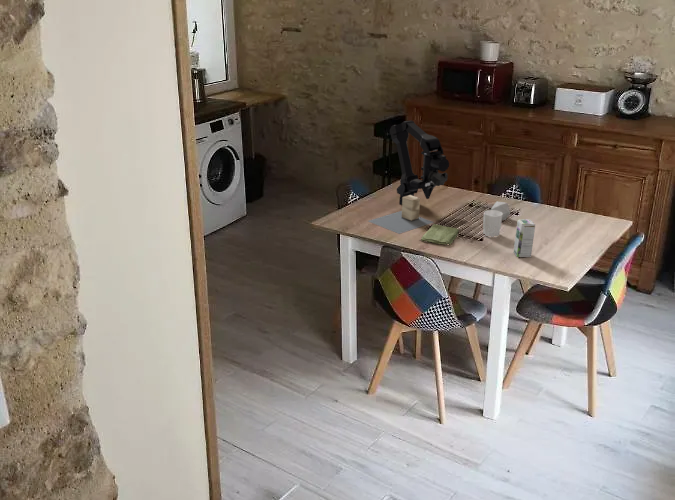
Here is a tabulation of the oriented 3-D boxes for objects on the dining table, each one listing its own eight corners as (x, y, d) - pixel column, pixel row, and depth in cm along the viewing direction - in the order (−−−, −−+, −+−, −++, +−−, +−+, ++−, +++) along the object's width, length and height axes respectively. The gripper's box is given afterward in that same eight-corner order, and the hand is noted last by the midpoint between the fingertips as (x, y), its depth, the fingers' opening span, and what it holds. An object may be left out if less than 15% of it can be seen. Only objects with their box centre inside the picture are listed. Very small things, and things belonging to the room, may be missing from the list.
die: (511, 218, 324) (503, 199, 325) (514, 215, 315) (506, 196, 316) (494, 225, 324) (486, 206, 325) (497, 222, 315) (489, 202, 317)
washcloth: (419, 242, 296) (419, 235, 294) (432, 229, 310) (432, 222, 309) (449, 248, 291) (450, 240, 289) (461, 233, 305) (461, 226, 304)
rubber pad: (402, 212, 328) (402, 210, 328) (433, 224, 314) (434, 222, 314) (367, 223, 315) (367, 221, 315) (399, 236, 301) (399, 233, 301)
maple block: (409, 215, 321) (410, 194, 317) (418, 219, 317) (420, 198, 313) (401, 218, 318) (402, 197, 314) (411, 221, 314) (412, 200, 310)
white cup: (501, 232, 306) (503, 211, 302) (499, 239, 299) (501, 217, 295) (483, 230, 308) (485, 209, 304) (480, 236, 301) (482, 215, 297)
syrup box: (512, 252, 286) (516, 219, 280) (527, 252, 286) (531, 218, 280) (517, 258, 280) (521, 224, 275) (531, 257, 281) (536, 223, 275)
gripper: (428, 173, 304) (426, 207, 310) (457, 166, 315) (454, 199, 322) (410, 168, 312) (408, 201, 318) (438, 160, 323) (436, 193, 329)
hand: (427, 198), depth 322 cm, fingers closed
